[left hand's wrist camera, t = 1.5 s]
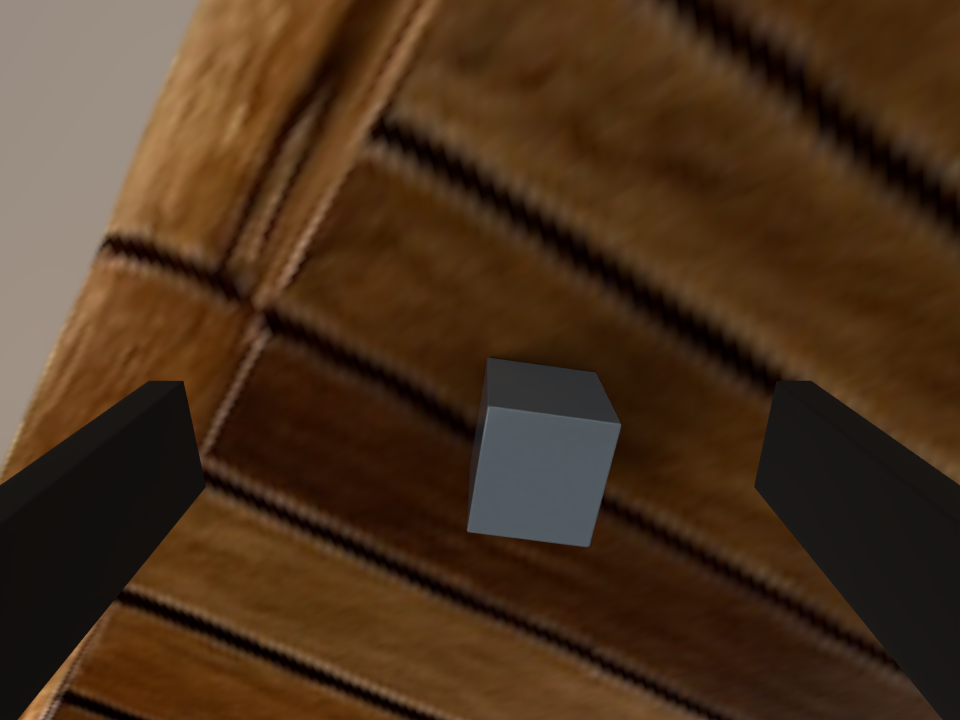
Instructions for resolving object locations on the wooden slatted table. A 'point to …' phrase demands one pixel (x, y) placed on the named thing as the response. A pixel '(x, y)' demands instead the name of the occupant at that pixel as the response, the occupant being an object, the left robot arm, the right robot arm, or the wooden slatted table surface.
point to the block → (540, 453)
